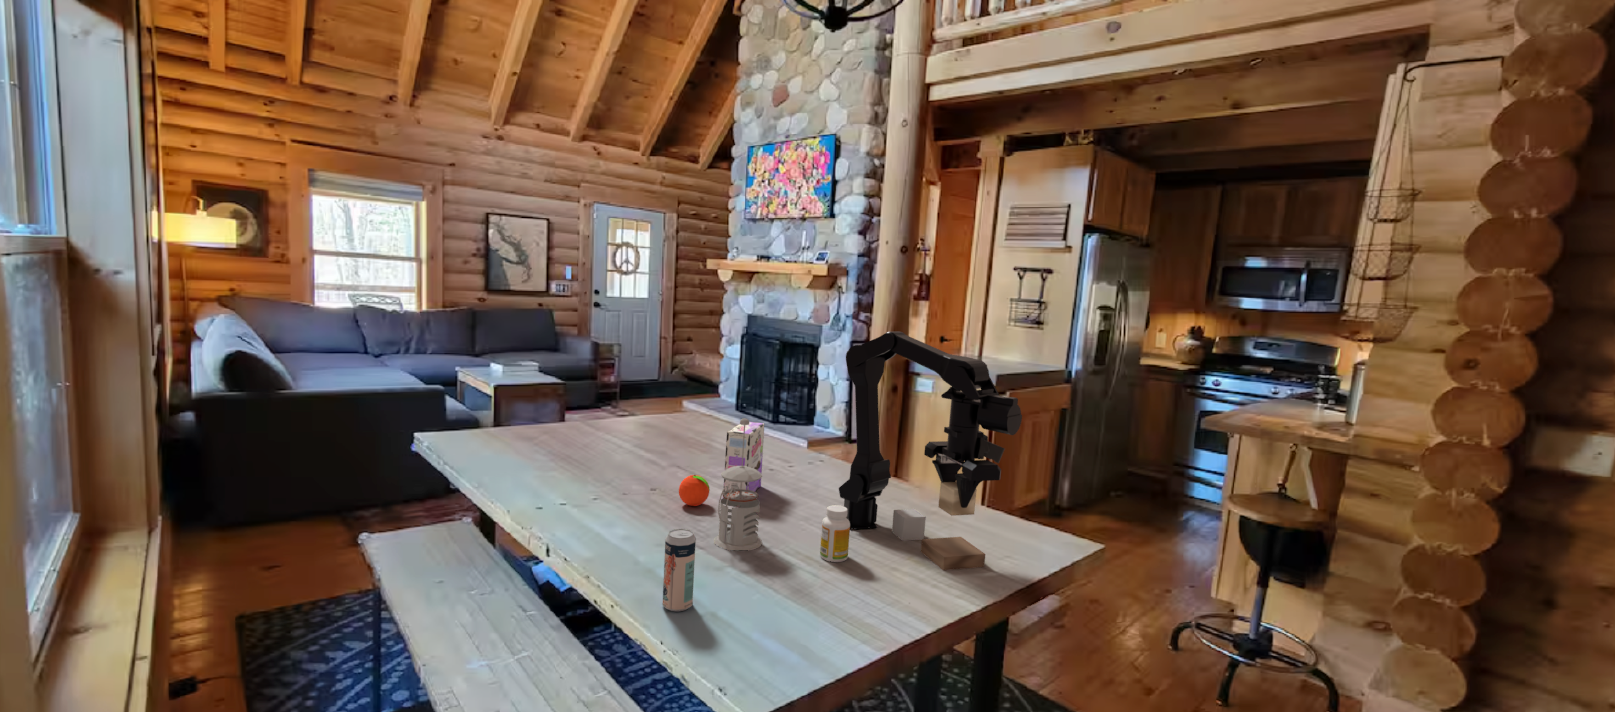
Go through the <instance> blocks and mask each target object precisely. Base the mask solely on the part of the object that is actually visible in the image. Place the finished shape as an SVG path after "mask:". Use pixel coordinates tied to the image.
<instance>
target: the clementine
mask: <svg viewBox="0 0 1615 712" xmlns="http://www.w3.org/2000/svg"><path fill="white" fill-rule="evenodd" d="M710 491H711V490H710V485H709V482H708V481H707V480H706V478H704V477H703V476H701V475H700V474H698V475H697V474H692V475H688V476H686V477H685V478H683V480H682V481H681V482H680V484H679V487H678V495H679V498H680V501H682V502H683V503H684V504H685V505H687V506H692V507H696V506H697V507H698V506H700V505H701V504H704V503H705V502H706V500H708V498H709V495H710Z"/></svg>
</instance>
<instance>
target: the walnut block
mask: <svg viewBox="0 0 1615 712" xmlns="http://www.w3.org/2000/svg"><path fill="white" fill-rule="evenodd" d="M920 544H921V545H920V552H921V554H923V555H924V556H925V557H926V558H928V559H929V560H930V561H931V562H932V563H933V564H935V565H936V566H937V567H938V568H939V569H941V570H942V571H950V570H952V571H953V570H964V569H975V568H985V562H986V553H985V552H984V551H982V550H980V549H979V548H978V547H976V546H975V545H973V544H972V543H970V542H969V541H967V540H966V539H965V538H964V537H962V536H953V537H951V536H950V537H936V538H932V537H931V538H924V539H922V540H921V542H920Z"/></svg>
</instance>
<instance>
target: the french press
mask: <svg viewBox="0 0 1615 712" xmlns="http://www.w3.org/2000/svg"><path fill="white" fill-rule="evenodd" d="M749 422H750V420H749V419H748V418H741V419H740V420H739V424H741V425H744V435H743V452H742V466H734V467H730V468H728V469H727V470H725V469H724V470H723V471H722V472H720V476H721V478H722V479H723V480H724V479H725V480H728V481H732V482H741V486H740V489H737V488H736V489H735V487H733V488H732V489H729V490H728V486H725V488H726V487H727V490H726V491H725V492H723V491H724V489H725V488H724V487H723V489H722V491H721V493H720V496H719V499H718V507H717V508H718V509H717V512H718V513H717V514H718V519H719V522H718V523H719V524H718V534H717V535H716V537H714V538H713V539H714V543H713V545H715V544H717V545H718V546H719V547H722V548H724V549H723V550H725V549H727V550H726V551H730V550H748V551H753V550H755V549H758V548H760V547H761V546H760V545H761V544H762V545H763V541H762V539H761V537H759V534H758V533H757V532H759V527H758V526H759V524H760V523H759V521H758V520H759V519H760V516H759V514H758V513H760V506H761V503H760V500H759V499H758V498H759V493H757V492H756V491H751V490H747V489H746V490H745V489H741V488H742V482H753V481H757V480H759V479H760V478H761V479H762V477H763V474H761V473H760V472H759V471H757V470H756V469H754V468H751V467H747V466H743V454H744V437H745V425H749ZM723 497H724V498H723ZM729 507H731V508H729ZM729 513H730V514H731V515H730V514H729ZM729 519H730V521H729ZM757 519H758V520H757ZM728 525H729V526H730V527H729V526H728ZM719 547H718V548H719ZM722 548H721V549H722Z"/></svg>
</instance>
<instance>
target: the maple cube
mask: <svg viewBox="0 0 1615 712" xmlns="http://www.w3.org/2000/svg"><path fill="white" fill-rule="evenodd" d="M939 485H940V487H939V488H940V489H939V497H938V508H939V509H941V510H943V512H945V513H946V514H948V515H950V516H951V517H952V516H953V517H954V516H968V515H969V516H972V515H975V512H976V511H975V510H976V509H975V508H976V501H977V499H976V498H977V488H976V490H975V491H974V494H973V496H972V498H971V500H970V502H969V504H968V506H967V508H962V507H961V504H960V500H959V494H958V488H957V482H941V481H940V483H939Z"/></svg>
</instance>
